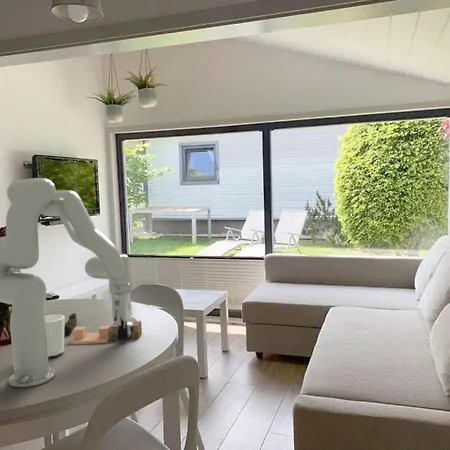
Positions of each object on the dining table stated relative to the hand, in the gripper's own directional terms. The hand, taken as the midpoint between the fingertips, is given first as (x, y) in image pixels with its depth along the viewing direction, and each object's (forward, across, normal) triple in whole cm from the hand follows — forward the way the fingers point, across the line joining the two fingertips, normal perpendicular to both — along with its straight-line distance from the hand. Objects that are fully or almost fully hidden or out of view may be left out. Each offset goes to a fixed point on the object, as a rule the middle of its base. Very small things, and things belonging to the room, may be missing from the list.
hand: (123, 338), depth 166 cm
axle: (+1, +8, 0) cm, 9 cm away
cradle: (+1, +4, +12) cm, 13 cm away
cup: (+2, -11, +22) cm, 24 cm away
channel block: (+1, +6, 0) cm, 6 cm away
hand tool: (+2, +19, +27) cm, 33 cm away
